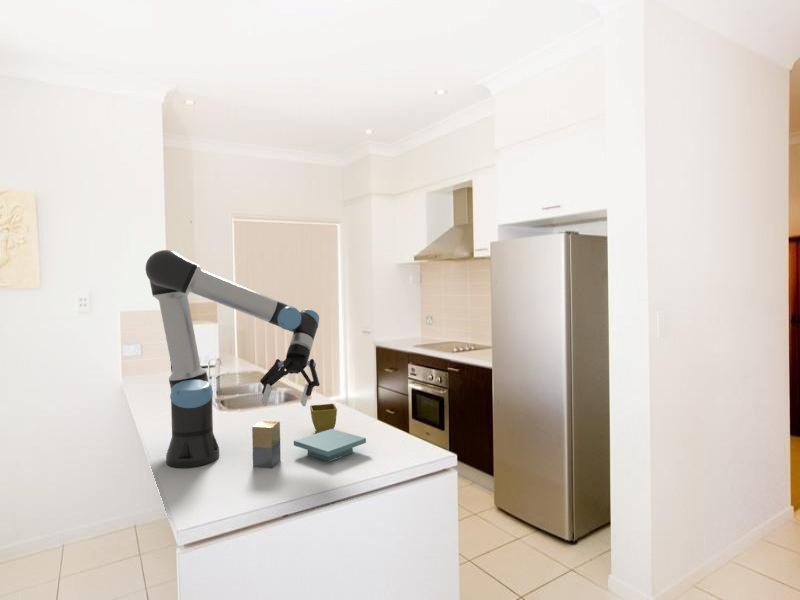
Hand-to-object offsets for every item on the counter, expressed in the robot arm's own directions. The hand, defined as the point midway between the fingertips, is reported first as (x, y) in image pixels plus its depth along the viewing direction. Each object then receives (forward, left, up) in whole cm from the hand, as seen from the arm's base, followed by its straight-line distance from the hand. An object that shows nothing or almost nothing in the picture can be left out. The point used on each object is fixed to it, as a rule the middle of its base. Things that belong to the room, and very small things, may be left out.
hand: (283, 404), depth 161 cm
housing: (+5, -10, -15) cm, 19 cm away
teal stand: (+13, +8, -15) cm, 22 cm away
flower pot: (-6, +22, -16) cm, 28 cm away
